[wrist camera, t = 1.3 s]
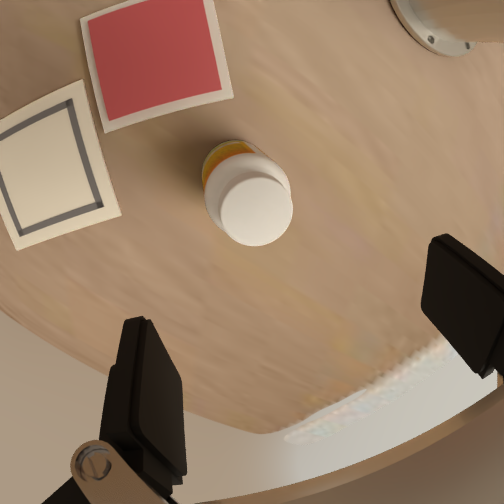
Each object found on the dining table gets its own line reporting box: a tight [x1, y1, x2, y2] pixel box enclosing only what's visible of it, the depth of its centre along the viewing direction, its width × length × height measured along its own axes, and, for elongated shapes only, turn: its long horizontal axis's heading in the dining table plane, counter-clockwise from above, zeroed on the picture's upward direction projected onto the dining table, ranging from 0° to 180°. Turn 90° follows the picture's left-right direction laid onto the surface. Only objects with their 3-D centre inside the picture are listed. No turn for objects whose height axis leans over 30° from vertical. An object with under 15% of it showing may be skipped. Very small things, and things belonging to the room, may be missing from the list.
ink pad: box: [80, 0, 234, 133], centre depth 19 cm, size 10×10×2 cm
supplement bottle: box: [202, 140, 293, 246], centre depth 21 cm, size 5×5×10 cm
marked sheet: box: [0, 79, 122, 251], centre depth 22 cm, size 12×12×1 cm
